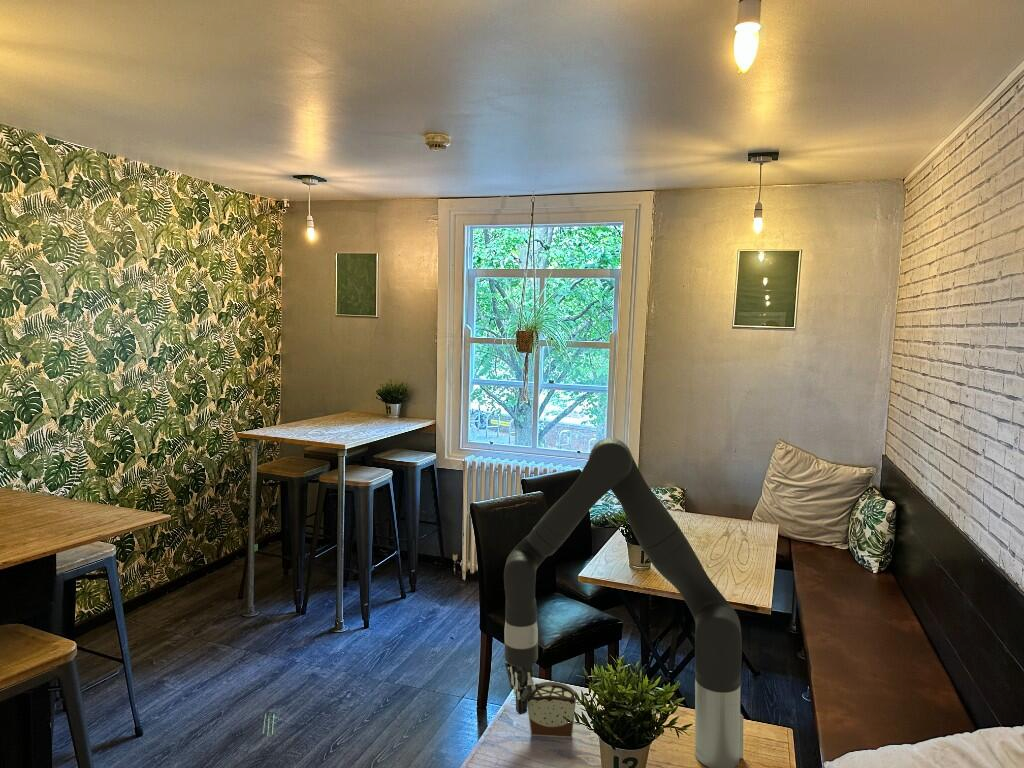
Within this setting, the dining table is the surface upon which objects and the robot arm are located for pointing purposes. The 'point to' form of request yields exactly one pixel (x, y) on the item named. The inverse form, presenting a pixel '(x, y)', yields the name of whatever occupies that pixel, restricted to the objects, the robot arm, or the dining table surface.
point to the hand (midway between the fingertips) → (521, 711)
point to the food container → (552, 710)
